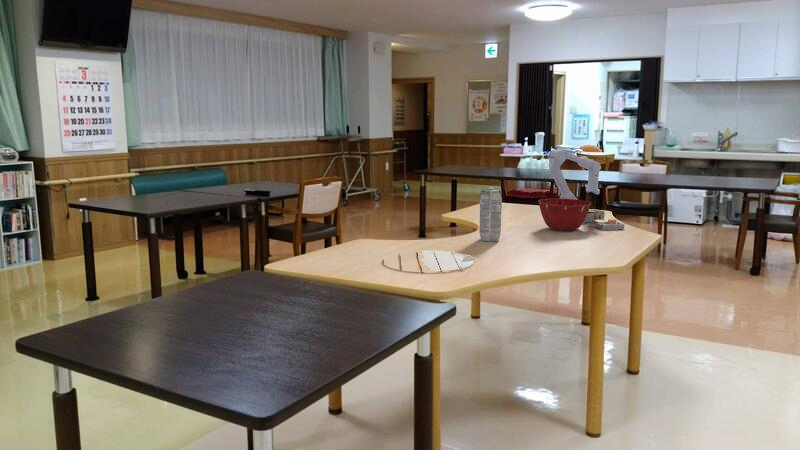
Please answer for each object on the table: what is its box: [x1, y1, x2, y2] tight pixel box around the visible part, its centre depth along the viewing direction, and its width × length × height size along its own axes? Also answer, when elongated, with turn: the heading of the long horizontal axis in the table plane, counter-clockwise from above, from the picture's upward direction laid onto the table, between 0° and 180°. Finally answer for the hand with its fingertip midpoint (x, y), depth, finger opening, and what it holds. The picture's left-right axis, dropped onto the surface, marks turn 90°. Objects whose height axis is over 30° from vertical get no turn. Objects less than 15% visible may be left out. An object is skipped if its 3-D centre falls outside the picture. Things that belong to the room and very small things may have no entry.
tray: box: [595, 221, 625, 231], centre depth 346 cm, size 13×8×3 cm, turn 96°
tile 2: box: [607, 218, 617, 225], centre depth 349 cm, size 4×4×2 cm
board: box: [591, 219, 608, 228], centre depth 354 cm, size 11×8×3 cm
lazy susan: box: [420, 249, 476, 272], centre depth 269 cm, size 40×39×3 cm
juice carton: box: [479, 186, 503, 243], centre depth 313 cm, size 9×10×27 cm
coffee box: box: [582, 208, 606, 224], centre depth 370 cm, size 9×6×16 cm
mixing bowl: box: [538, 198, 592, 232], centre depth 344 cm, size 28×28×16 cm
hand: (591, 205), depth 367 cm, fingers closed
